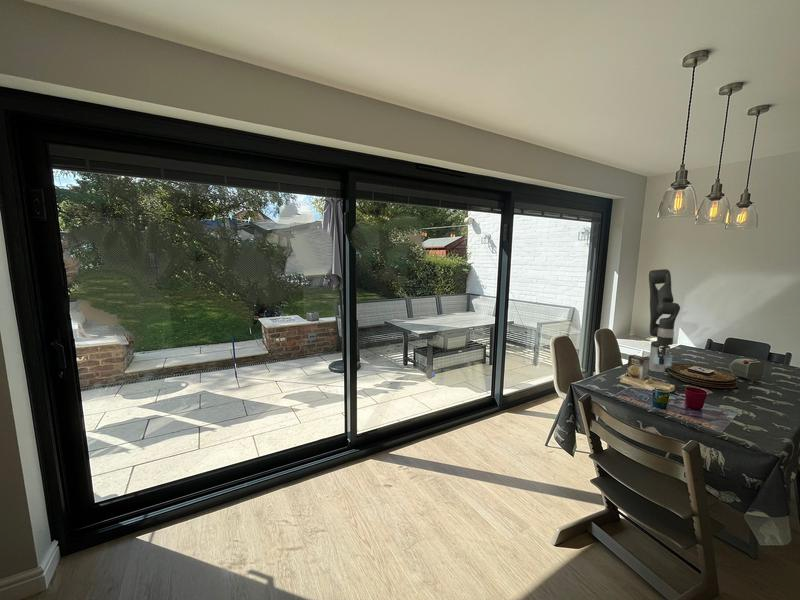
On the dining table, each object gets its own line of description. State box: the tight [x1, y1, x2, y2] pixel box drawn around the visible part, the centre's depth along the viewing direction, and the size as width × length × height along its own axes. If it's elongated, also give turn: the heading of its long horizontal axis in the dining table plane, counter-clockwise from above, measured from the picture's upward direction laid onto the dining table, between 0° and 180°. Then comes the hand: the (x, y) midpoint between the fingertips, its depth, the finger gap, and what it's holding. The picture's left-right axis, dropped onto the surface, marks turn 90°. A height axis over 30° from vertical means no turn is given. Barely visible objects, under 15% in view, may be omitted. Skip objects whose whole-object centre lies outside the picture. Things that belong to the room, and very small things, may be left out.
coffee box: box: [626, 354, 650, 381], centre depth 209 cm, size 9×6×16 cm
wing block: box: [654, 354, 674, 367], centre depth 198 cm, size 4×8×5 cm, turn 40°
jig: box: [619, 372, 676, 393], centre depth 205 cm, size 13×25×4 cm, turn 36°
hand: (662, 363), depth 198 cm, fingers closed on wing block, 4 cm apart
